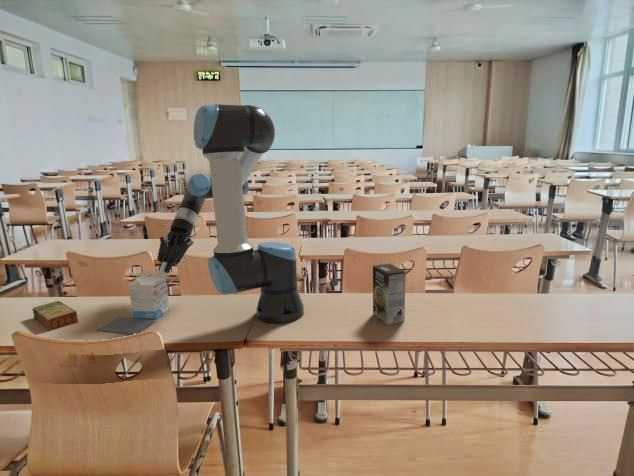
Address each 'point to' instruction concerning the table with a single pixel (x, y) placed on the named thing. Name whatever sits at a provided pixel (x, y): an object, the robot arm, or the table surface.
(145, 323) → the rubber mat
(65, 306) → the carton
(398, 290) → the coffee box
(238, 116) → the robot arm
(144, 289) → the ink box
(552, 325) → the table surface
